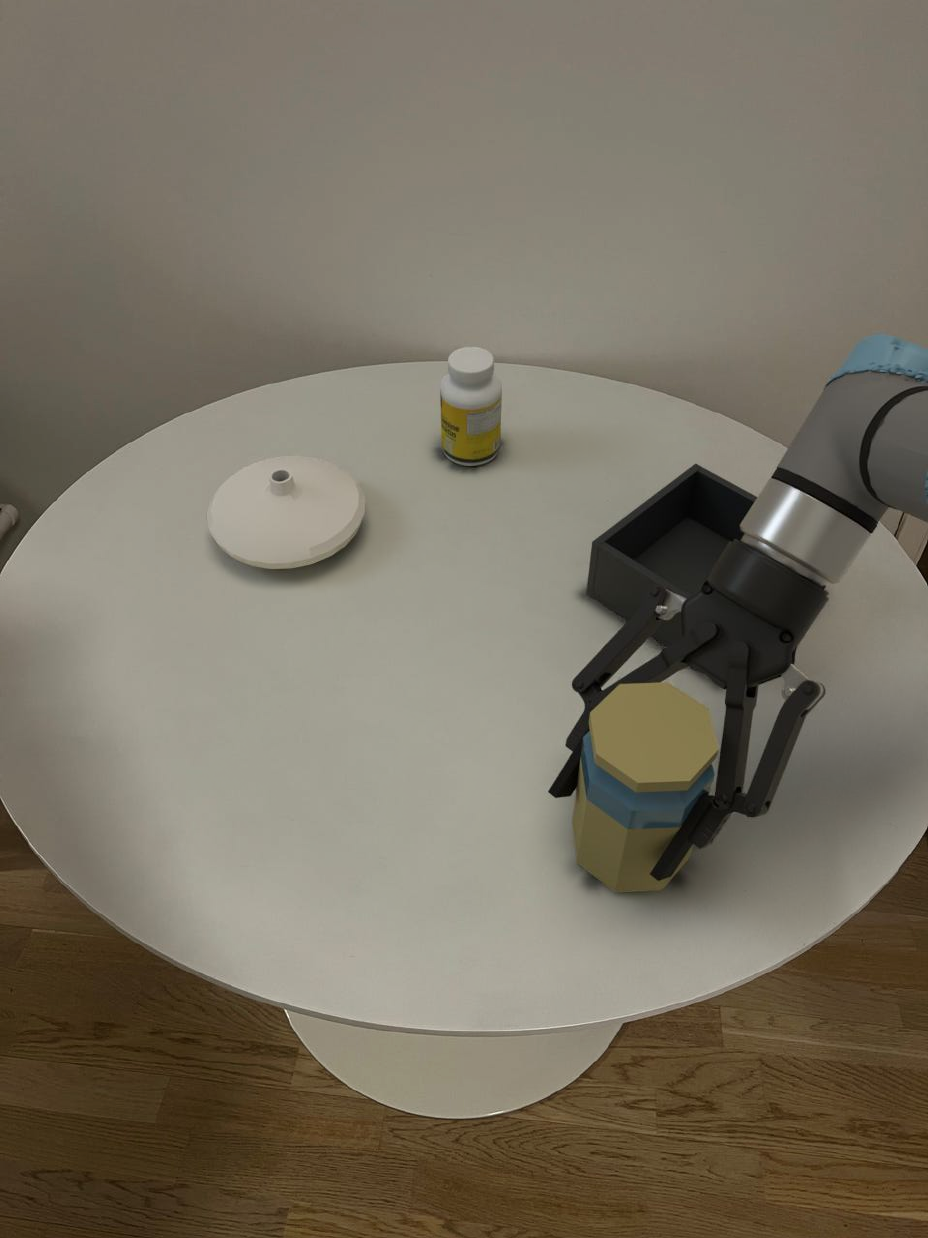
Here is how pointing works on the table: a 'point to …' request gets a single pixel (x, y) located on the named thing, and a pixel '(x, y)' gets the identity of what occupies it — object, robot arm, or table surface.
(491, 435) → the pill bottle
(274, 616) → the table surface
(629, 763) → the jar
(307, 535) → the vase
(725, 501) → the bin
